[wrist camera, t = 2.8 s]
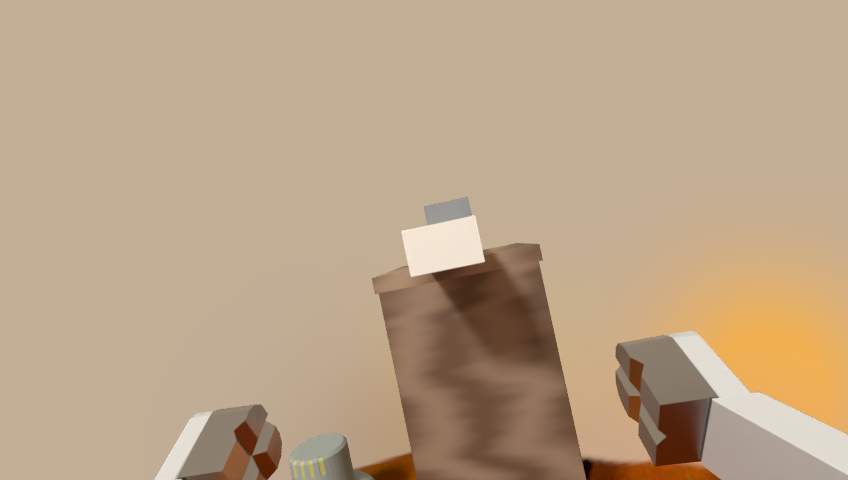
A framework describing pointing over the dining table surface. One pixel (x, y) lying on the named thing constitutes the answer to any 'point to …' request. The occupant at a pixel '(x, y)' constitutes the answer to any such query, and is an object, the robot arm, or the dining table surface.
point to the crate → (481, 370)
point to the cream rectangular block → (444, 239)
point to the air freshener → (324, 460)
